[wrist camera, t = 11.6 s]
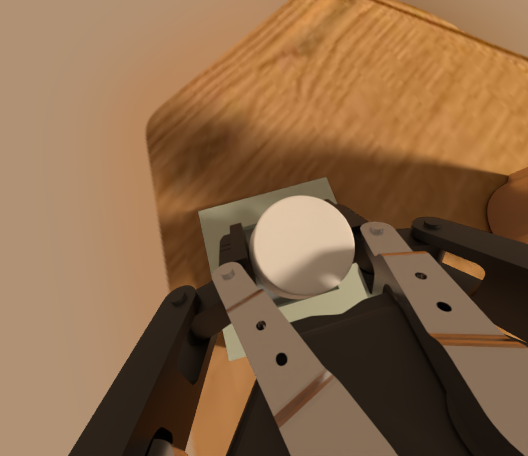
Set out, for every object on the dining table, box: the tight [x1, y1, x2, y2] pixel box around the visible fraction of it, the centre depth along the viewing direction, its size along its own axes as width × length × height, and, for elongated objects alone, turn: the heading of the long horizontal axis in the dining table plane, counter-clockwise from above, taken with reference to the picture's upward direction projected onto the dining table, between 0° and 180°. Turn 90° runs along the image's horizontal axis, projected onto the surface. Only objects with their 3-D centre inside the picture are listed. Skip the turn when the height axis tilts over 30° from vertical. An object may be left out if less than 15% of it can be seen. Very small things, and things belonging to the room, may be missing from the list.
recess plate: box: [198, 177, 368, 361], centre depth 16 cm, size 12×12×2 cm
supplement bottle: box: [249, 196, 355, 299], centre depth 11 cm, size 5×5×8 cm
